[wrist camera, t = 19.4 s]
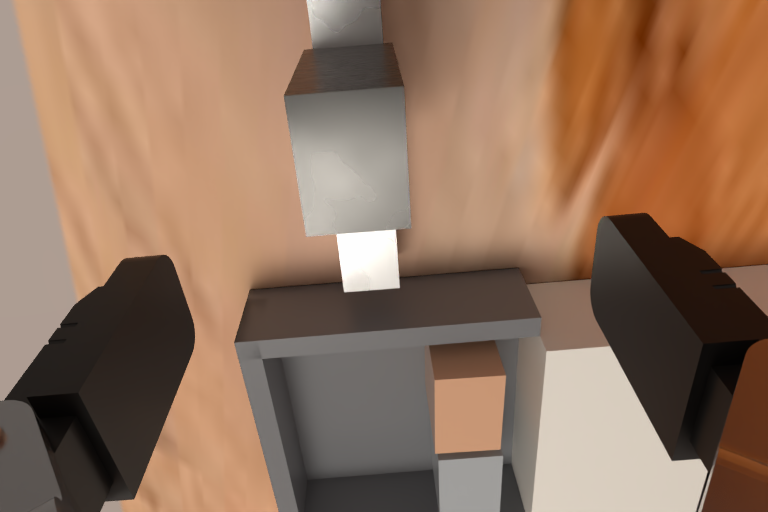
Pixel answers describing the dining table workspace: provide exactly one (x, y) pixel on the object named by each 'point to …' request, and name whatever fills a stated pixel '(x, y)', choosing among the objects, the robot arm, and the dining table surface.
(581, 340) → the long rectangular box
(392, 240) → the scraper
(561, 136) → the dining table surface
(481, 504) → the pale grey box
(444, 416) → the tan block
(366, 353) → the box
